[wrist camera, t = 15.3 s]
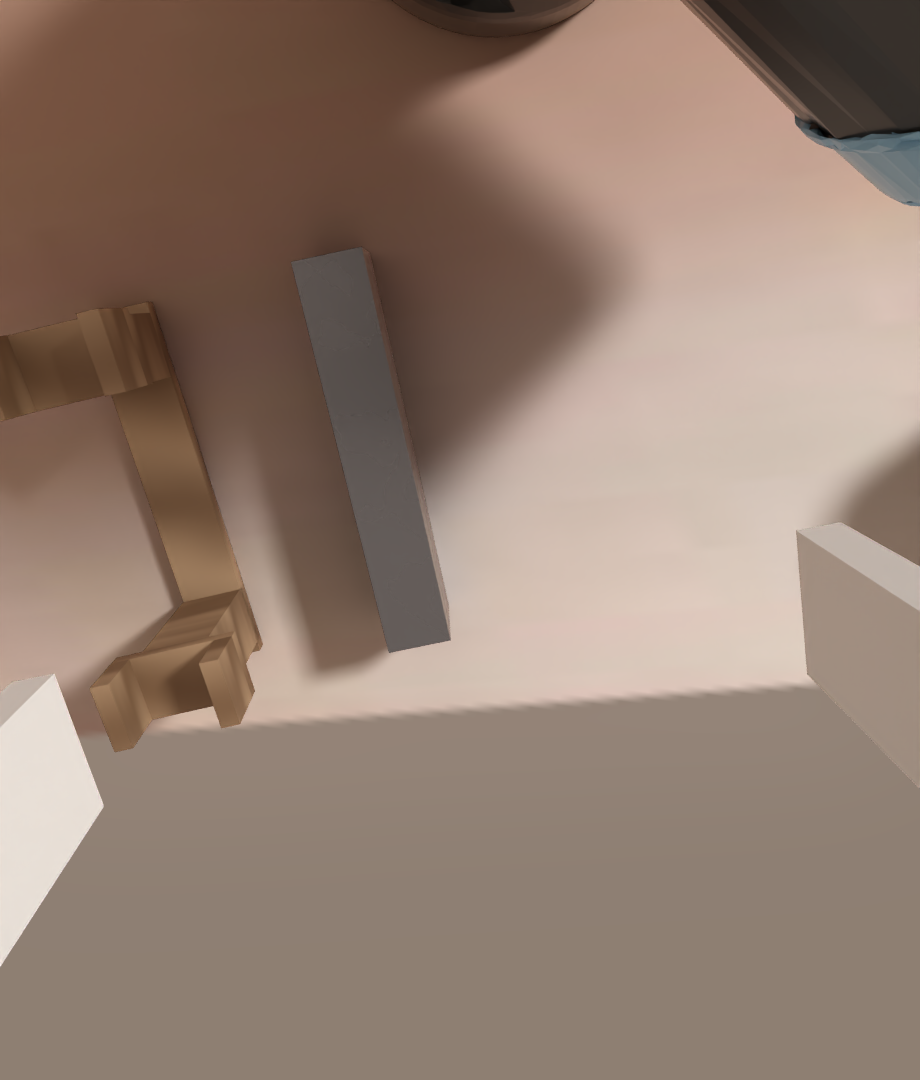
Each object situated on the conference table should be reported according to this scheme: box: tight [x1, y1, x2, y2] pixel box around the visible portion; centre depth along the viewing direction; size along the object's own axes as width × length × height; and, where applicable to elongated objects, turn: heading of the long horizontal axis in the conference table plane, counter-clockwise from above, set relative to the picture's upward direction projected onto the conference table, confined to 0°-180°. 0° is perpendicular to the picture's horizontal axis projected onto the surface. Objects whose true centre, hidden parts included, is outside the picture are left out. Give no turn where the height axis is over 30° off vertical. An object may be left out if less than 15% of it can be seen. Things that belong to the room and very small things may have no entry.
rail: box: [291, 247, 451, 653], centre depth 39 cm, size 18×3×5 cm, turn 12°
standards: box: [0, 302, 263, 752], centre depth 36 cm, size 18×5×10 cm, turn 13°
